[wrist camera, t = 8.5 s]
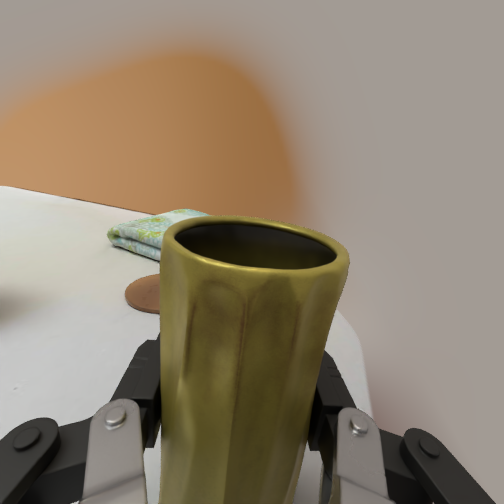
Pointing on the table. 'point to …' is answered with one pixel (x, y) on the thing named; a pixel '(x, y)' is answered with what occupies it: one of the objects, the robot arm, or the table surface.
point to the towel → (148, 232)
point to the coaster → (145, 294)
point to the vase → (241, 354)
